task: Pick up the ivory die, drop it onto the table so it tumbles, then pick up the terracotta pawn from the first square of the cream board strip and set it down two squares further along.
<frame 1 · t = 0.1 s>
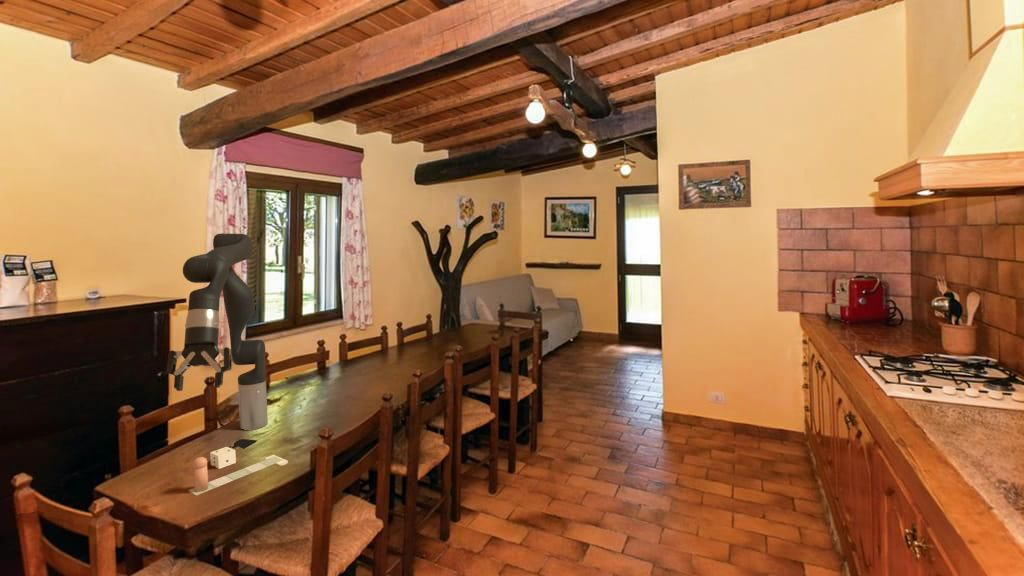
hand: (198, 389, 120), 31 cm above the table, tool tilted 20°, fingers open, 8 cm apart
smartphone: (233, 451, 156), on the table
board: (238, 477, 137), on the table
pawn: (201, 488, 128), point 1 cm above the table, touching board
die: (223, 466, 144), on the table
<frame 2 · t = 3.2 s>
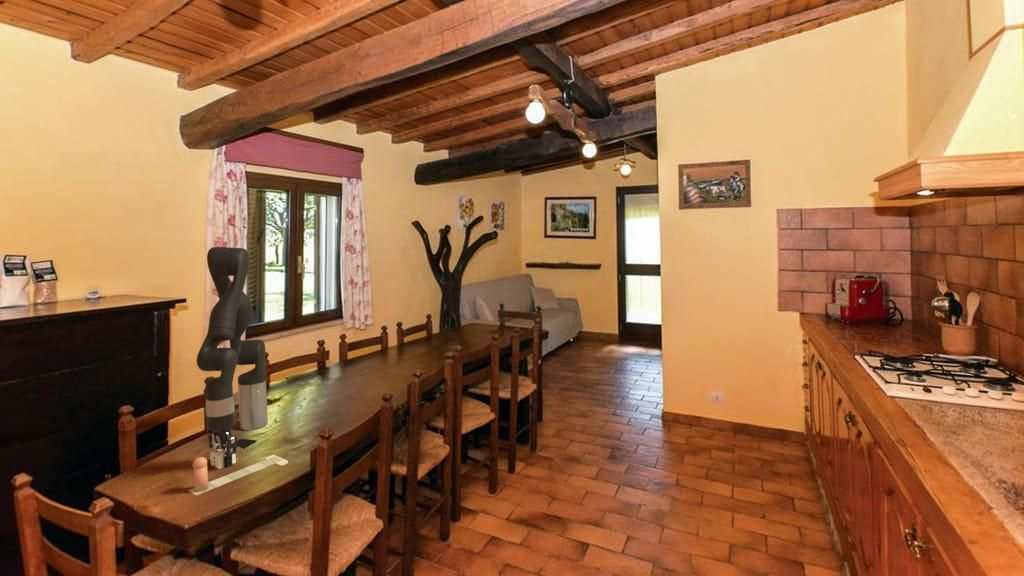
hand: (223, 464, 143), 1 cm above the table, tool pointing down, fingers closed on die, 5 cm apart
die: (223, 466, 144), on the table, touching gripper
everything else where it was.
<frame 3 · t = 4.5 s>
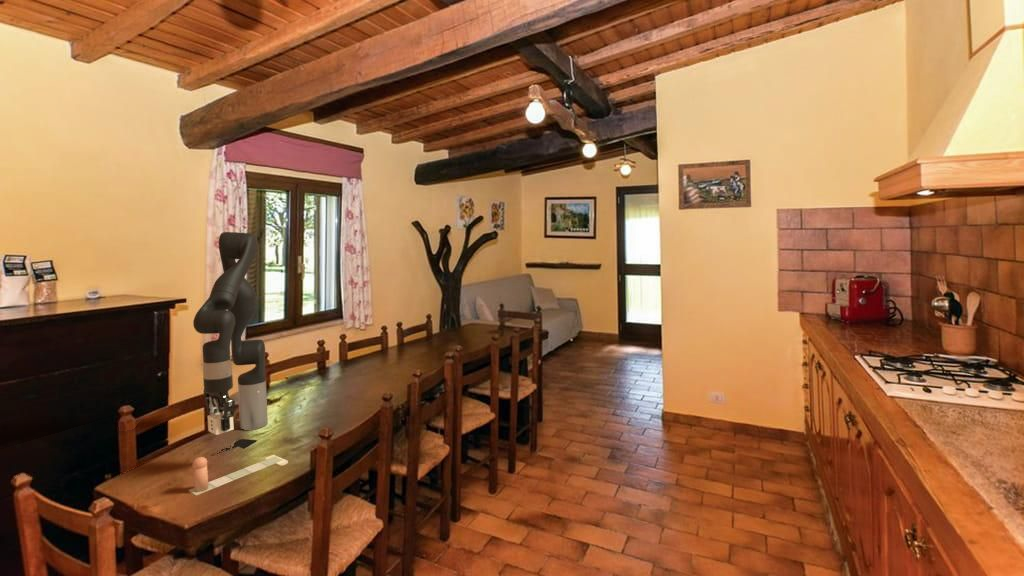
hand: (221, 427, 143), 12 cm above the table, tool pointing down, fingers closed on die, 5 cm apart
die: (221, 430, 143), point 12 cm above the table, touching gripper
everything else where it was.
when the fingers open (8 cm above the table, at t = 5.6 s): die drops 8 cm, on the table.
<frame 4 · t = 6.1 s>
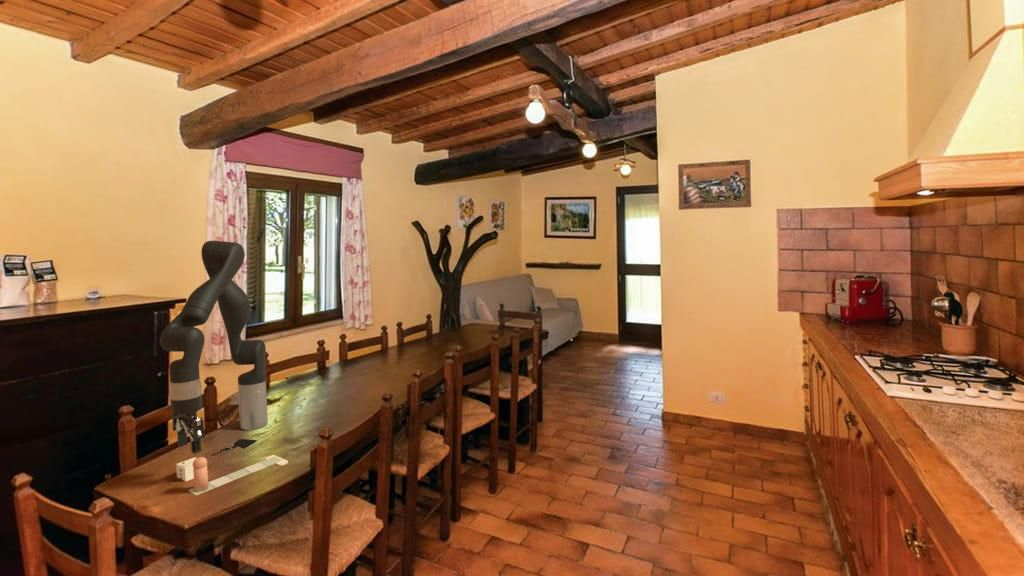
hand: (189, 448, 135), 9 cm above the table, tool pointing down, fingers open, 8 cm apart
die: (190, 478, 136), on the table
everything else where it was.
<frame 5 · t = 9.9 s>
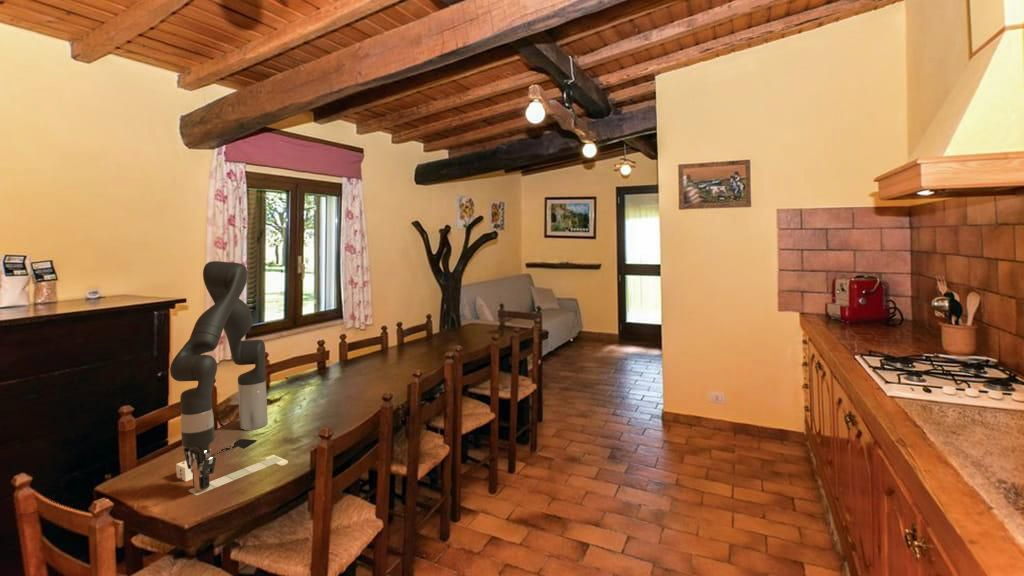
hand: (201, 486, 128), 2 cm above the table, tool pointing down, fingers closed on pawn, 3 cm apart
pawn: (201, 488, 128), point 1 cm above the table, touching board, gripper
everything else where it was.
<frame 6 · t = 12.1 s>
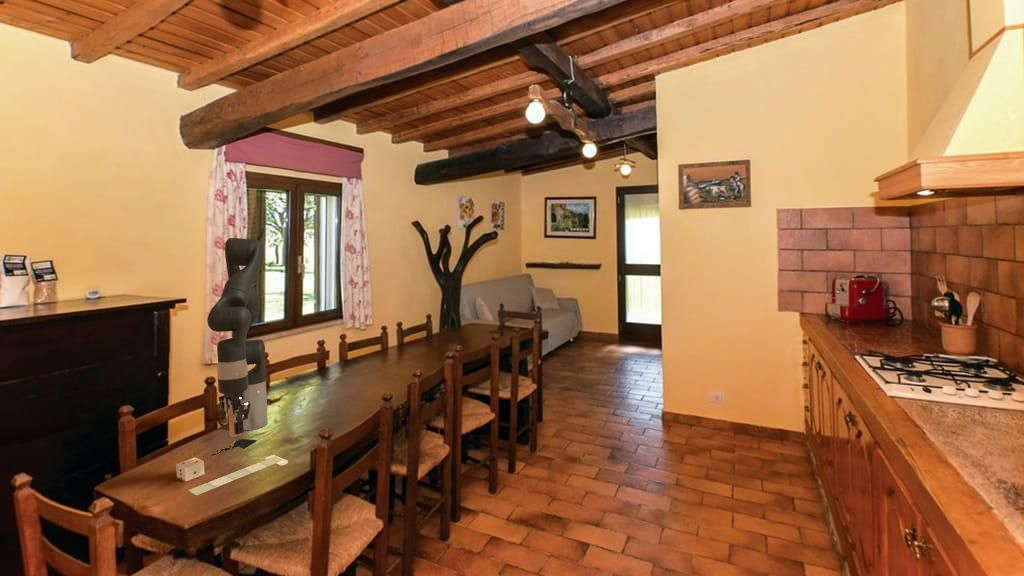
hand: (235, 431, 136), 14 cm above the table, tool pointing down, fingers closed on pawn, 3 cm apart
pawn: (236, 434, 136), point 13 cm above the table, touching gripper
everything else where it was.
when the fingers open (3 cm above the table, at t = 14.4 s): pawn stays where it is, resting on board.
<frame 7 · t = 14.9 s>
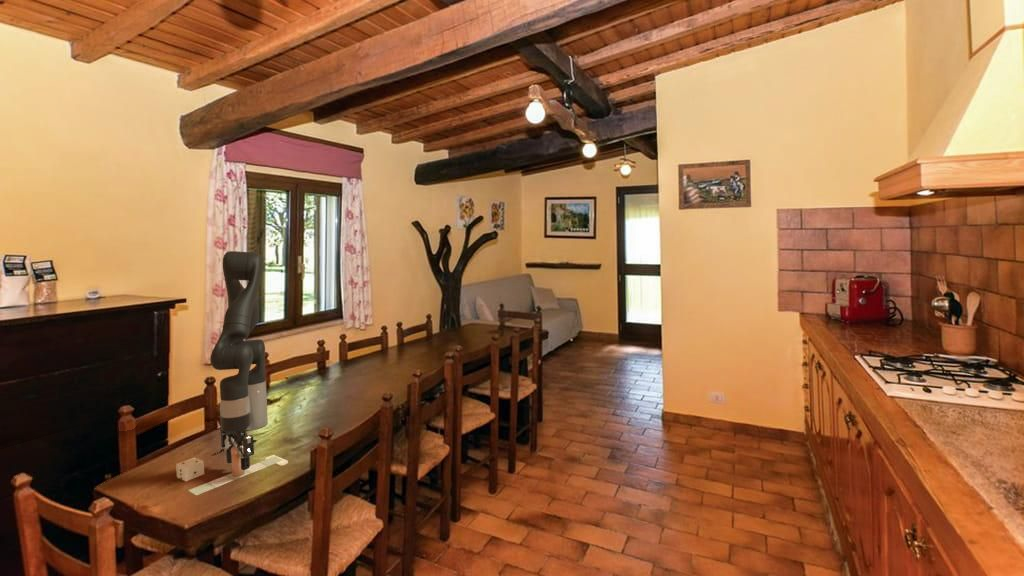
hand: (238, 465, 137), 4 cm above the table, tool pointing down, fingers open, 7 cm apart
pawn: (238, 474, 137), point 1 cm above the table, touching board
everything else where it was.
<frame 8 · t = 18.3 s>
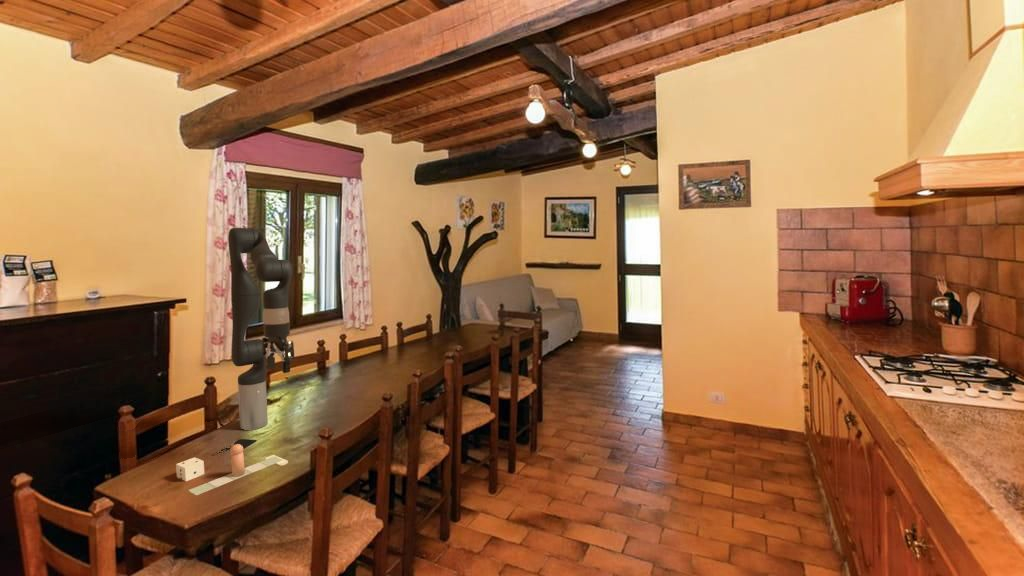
hand: (278, 370, 150), 28 cm above the table, tool pointing down, fingers open, 8 cm apart
nothing on the table moved.
at the end: pawn 0.0 cm off-centre on the board, point 0.9 cm above the board's base; pawn tilted 1°; die moved 9.0 cm from its start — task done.
